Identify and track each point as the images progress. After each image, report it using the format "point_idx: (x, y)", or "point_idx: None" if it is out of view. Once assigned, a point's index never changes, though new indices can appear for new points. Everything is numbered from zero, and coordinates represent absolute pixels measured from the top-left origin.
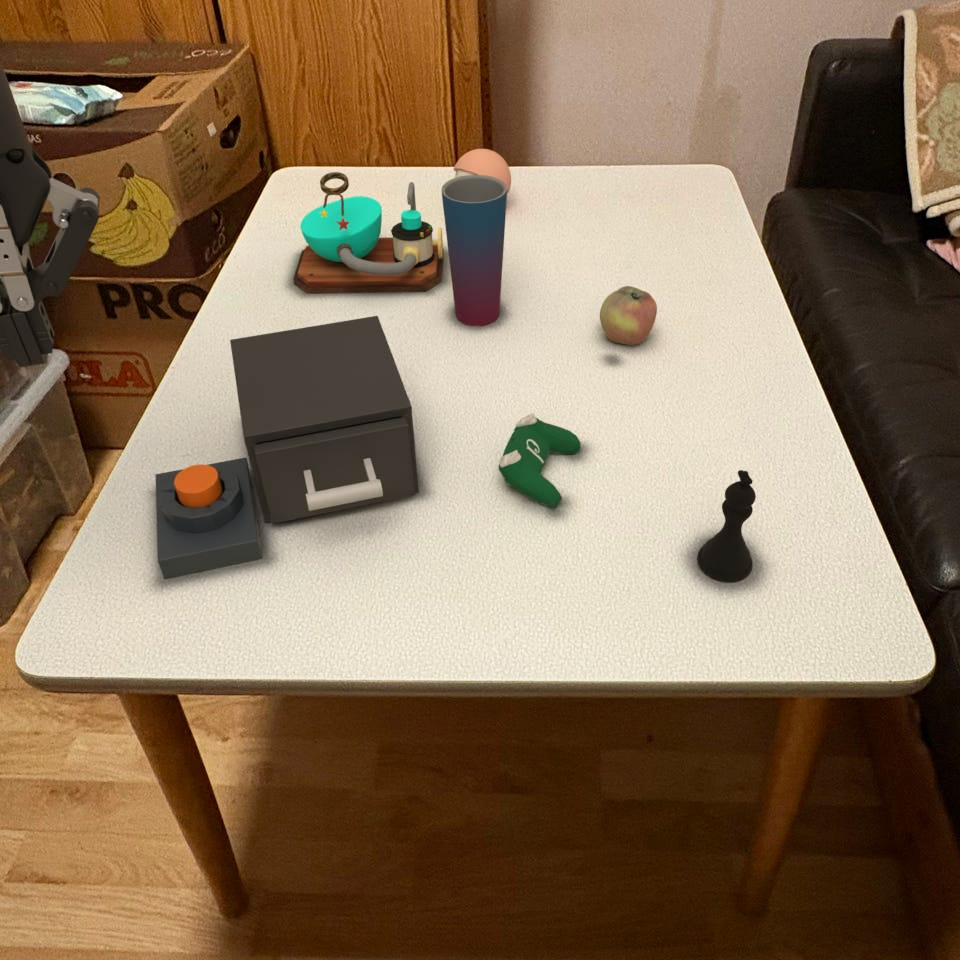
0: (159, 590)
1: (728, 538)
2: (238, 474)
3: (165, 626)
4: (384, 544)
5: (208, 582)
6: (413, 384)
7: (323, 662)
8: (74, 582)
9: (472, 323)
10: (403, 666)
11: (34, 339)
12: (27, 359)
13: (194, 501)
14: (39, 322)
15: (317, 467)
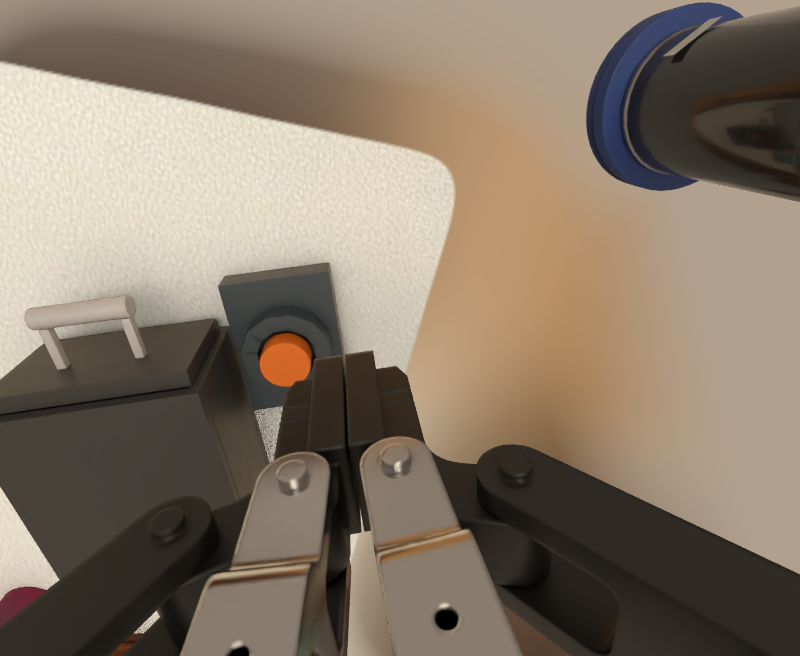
0: (332, 247)
1: None
2: (257, 386)
3: (318, 195)
4: (80, 277)
5: (280, 250)
6: None
7: (123, 106)
8: (421, 272)
9: (31, 590)
10: (16, 79)
11: (311, 394)
12: (348, 360)
13: (287, 337)
14: (289, 438)
15: (126, 360)
